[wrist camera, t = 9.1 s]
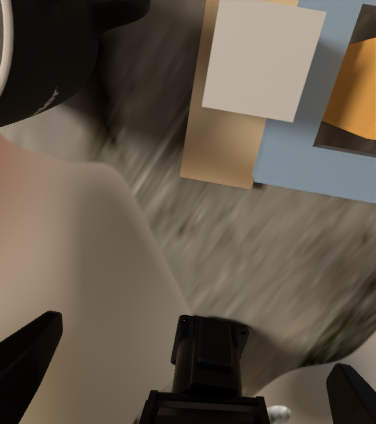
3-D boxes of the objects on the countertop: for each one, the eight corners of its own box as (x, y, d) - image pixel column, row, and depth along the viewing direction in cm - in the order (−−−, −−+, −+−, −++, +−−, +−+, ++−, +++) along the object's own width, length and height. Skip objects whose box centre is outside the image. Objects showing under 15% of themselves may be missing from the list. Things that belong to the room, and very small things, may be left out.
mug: (9, 119, 20) (-168, 155, 11) (-52, -45, 16) (-407, -209, 7) (178, 98, 18) (141, 118, 9) (154, -89, 14) (53, -375, 5)
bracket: (396, 185, 18) (514, 254, 11) (197, 150, 18) (186, 195, 11) (492, -1, 14) (786, -86, 7) (231, -46, 14) (248, -176, 7)
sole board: (249, 184, 20) (251, 189, 19) (181, 172, 20) (179, 176, 19) (319, -76, 14) (326, -86, 13) (221, -92, 14) (221, -104, 13)
